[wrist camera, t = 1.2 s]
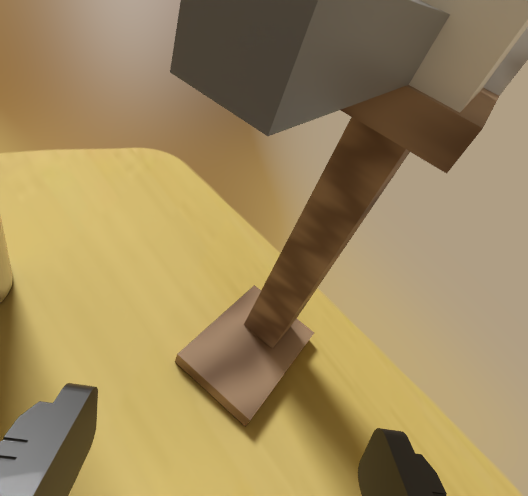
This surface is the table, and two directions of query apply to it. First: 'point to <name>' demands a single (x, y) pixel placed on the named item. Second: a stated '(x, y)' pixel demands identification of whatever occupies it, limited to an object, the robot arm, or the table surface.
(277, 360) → the wooden pedestal stand
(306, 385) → the table surface
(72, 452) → the robot arm
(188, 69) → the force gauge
